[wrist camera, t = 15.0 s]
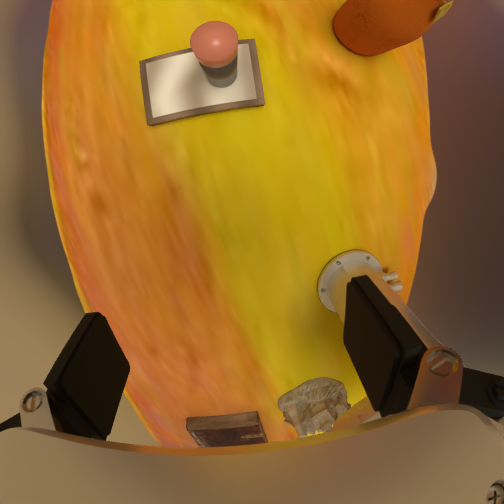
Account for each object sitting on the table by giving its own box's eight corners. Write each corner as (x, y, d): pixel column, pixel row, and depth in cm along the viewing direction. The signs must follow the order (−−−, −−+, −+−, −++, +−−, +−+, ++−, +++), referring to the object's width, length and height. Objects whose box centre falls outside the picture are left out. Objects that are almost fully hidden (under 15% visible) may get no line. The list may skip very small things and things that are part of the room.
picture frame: (253, 44, 31) (254, 38, 28) (263, 105, 35) (265, 103, 32) (144, 65, 31) (138, 60, 28) (152, 125, 35) (146, 125, 32)
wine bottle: (335, 55, 32) (477, -21, 5) (324, 4, 28) (427, -99, 1) (389, 62, 32) (540, 29, 5) (379, 13, 28) (503, -49, 1)
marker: (235, 58, 30) (234, 18, 17) (239, 85, 31) (241, 55, 18) (204, 63, 30) (187, 25, 17) (208, 90, 31) (193, 63, 18)
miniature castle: (269, 398, 60) (281, 451, 46) (329, 366, 57) (352, 419, 44) (298, 418, 66) (311, 462, 53) (350, 390, 64) (370, 434, 50)
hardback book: (187, 416, 62) (185, 431, 58) (257, 409, 62) (258, 425, 58) (216, 456, 74) (216, 468, 70) (271, 450, 74) (272, 462, 69)
